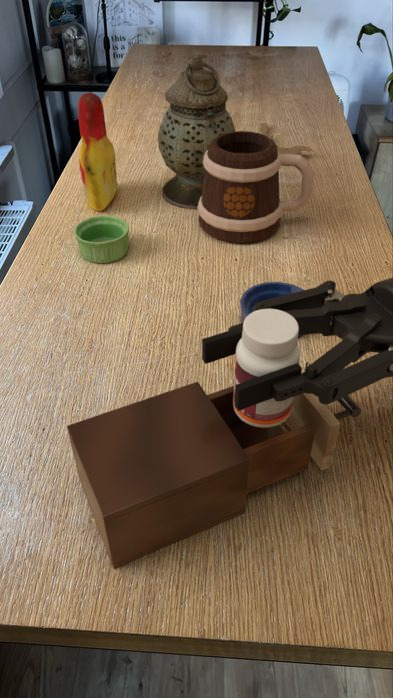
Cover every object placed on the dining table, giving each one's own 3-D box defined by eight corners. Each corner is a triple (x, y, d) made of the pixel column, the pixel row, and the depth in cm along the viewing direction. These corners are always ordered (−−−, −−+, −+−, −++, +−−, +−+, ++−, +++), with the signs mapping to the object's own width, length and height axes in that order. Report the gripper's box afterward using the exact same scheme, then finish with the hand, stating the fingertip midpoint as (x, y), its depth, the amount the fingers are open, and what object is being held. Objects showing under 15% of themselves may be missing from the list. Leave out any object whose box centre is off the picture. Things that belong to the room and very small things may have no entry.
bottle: (111, 216, 108) (99, 106, 95) (78, 215, 109) (60, 105, 95) (123, 187, 117) (112, 82, 104) (91, 186, 118) (77, 81, 104)
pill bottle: (225, 392, 63) (228, 310, 56) (279, 381, 64) (289, 299, 57) (243, 435, 59) (249, 352, 51) (301, 423, 60) (315, 340, 52)
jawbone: (278, 169, 123) (278, 160, 122) (230, 136, 137) (230, 127, 136) (313, 157, 126) (314, 148, 124) (263, 126, 140) (263, 117, 138)
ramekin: (142, 250, 100) (140, 227, 97) (101, 272, 95) (98, 249, 92) (107, 231, 104) (104, 209, 101) (67, 252, 99) (62, 229, 97)
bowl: (327, 328, 84) (329, 314, 82) (262, 349, 81) (263, 335, 79) (288, 288, 91) (289, 275, 89) (227, 307, 88) (227, 293, 86)
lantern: (235, 178, 120) (240, 44, 103) (231, 212, 109) (236, 69, 92) (166, 175, 121) (160, 42, 104) (156, 209, 110) (148, 67, 93)
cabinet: (198, 435, 70) (197, 381, 64) (245, 512, 62) (249, 459, 56) (79, 479, 65) (66, 425, 59) (113, 568, 57) (102, 517, 51)
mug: (196, 246, 101) (195, 162, 91) (198, 203, 112) (198, 124, 102) (313, 246, 100) (325, 162, 90) (303, 204, 111) (313, 124, 101)
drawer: (315, 391, 74) (323, 348, 69) (366, 451, 66) (379, 407, 62) (180, 441, 68) (179, 397, 63) (221, 512, 61) (223, 469, 56)
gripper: (365, 234, 66) (177, 287, 59) (494, 334, 53) (275, 417, 46) (353, 288, 71) (179, 342, 64) (469, 391, 58) (268, 474, 51)
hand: (220, 373), depth 55 cm, fingers closed on pill bottle, 6 cm apart
